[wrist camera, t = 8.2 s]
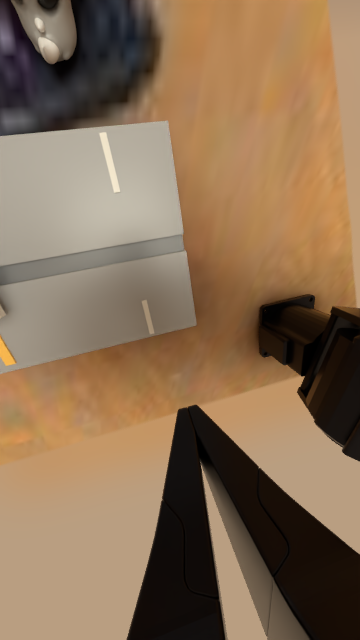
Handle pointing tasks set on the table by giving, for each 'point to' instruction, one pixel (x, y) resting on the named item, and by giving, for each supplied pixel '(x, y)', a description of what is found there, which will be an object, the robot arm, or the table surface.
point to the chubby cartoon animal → (49, 27)
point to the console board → (89, 242)
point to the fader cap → (2, 312)
